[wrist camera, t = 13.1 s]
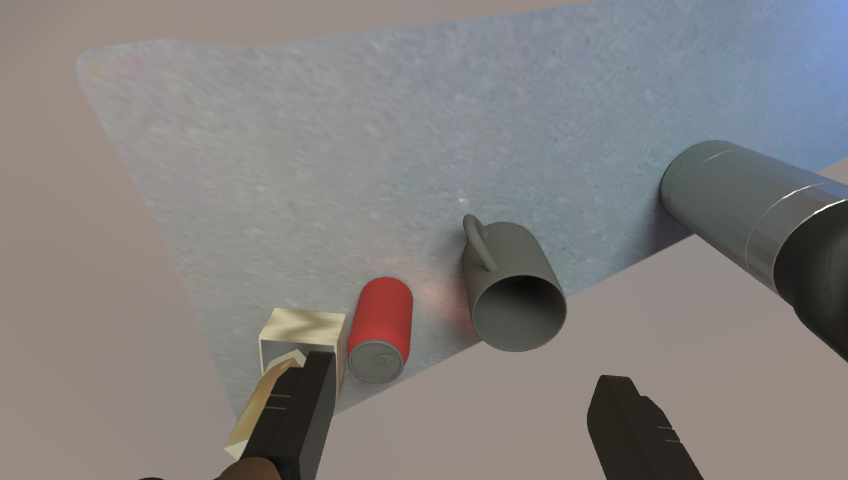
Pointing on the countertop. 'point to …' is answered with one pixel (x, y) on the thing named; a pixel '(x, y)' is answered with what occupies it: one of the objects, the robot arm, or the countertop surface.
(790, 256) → the robot arm
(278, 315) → the birch plinth
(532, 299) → the mug
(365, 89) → the countertop surface
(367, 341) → the beer can
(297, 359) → the skincare box
